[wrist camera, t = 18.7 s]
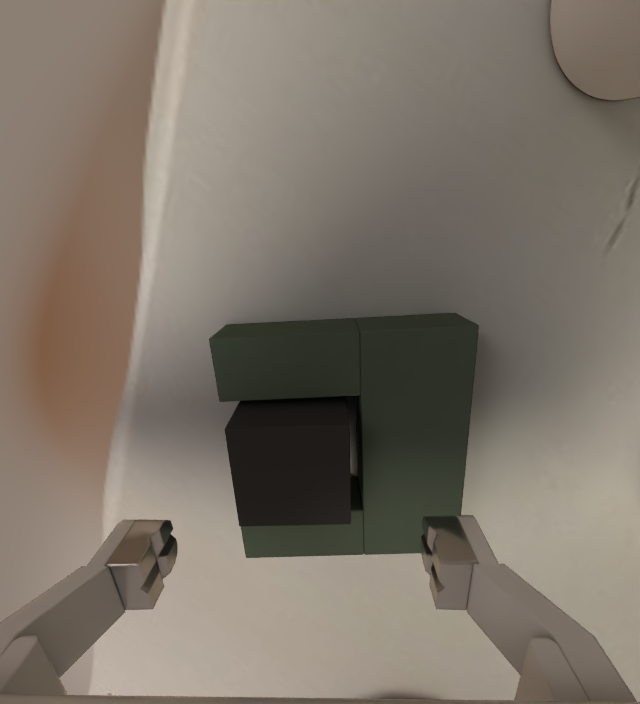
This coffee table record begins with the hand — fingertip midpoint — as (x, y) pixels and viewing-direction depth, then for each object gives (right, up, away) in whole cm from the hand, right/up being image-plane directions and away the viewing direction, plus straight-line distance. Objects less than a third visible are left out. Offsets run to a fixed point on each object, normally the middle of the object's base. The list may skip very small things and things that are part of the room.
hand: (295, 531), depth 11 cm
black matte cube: (0, +2, +7) cm, 7 cm away
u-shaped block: (+2, +2, +7) cm, 7 cm away
